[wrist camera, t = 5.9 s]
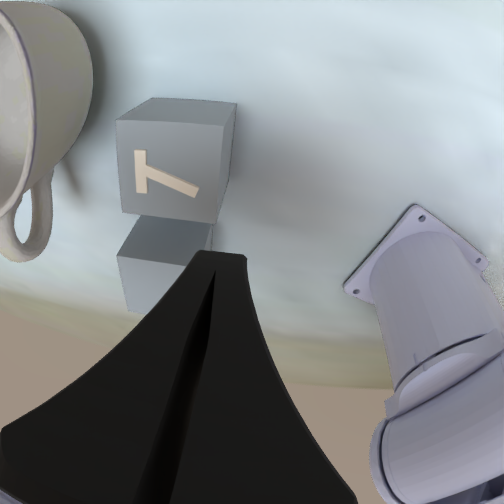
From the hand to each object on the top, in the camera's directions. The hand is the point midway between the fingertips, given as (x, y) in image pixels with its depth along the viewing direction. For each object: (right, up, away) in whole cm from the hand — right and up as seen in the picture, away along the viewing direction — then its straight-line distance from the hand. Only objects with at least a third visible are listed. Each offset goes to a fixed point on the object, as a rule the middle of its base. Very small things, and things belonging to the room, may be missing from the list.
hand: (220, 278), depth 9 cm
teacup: (-11, +10, +5) cm, 16 cm away
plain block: (-4, +1, +11) cm, 12 cm away
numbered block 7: (-2, +7, +7) cm, 10 cm away
